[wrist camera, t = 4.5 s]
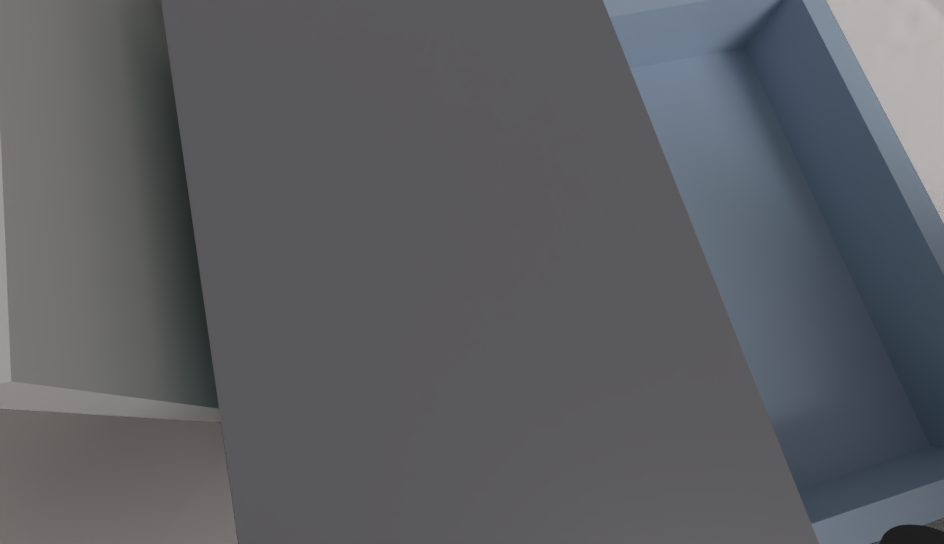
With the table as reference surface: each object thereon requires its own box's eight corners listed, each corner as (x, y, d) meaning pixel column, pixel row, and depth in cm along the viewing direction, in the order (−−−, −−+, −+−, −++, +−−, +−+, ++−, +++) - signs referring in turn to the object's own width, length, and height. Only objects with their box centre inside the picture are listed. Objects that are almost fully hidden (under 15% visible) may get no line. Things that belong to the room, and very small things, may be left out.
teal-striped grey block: (403, 635, 15) (335, 1287, 4) (319, 230, 18) (138, -127, 7) (577, 576, 16) (988, 954, 4) (468, 198, 19) (538, -170, 7)
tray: (686, 552, 16) (757, 583, 13) (526, 77, 20) (546, 5, 17) (946, 464, 18) (1074, 471, 14) (746, 37, 22) (806, -37, 18)
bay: (305, 428, 16) (-84, 403, 4) (257, 161, 19) (-82, -394, 6) (564, 359, 17) (905, 171, 5) (489, 116, 20) (596, -420, 7)
